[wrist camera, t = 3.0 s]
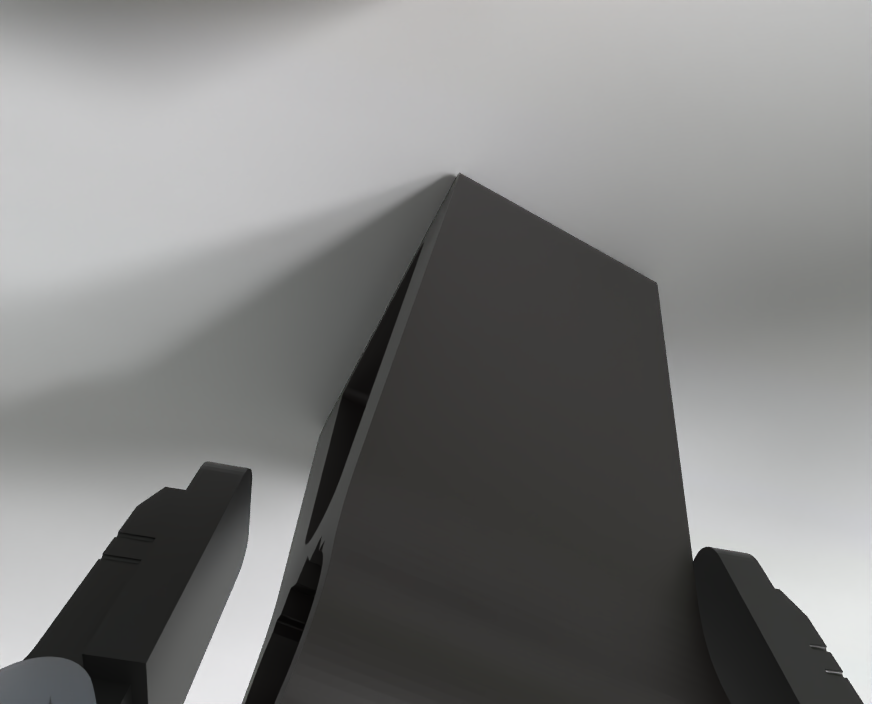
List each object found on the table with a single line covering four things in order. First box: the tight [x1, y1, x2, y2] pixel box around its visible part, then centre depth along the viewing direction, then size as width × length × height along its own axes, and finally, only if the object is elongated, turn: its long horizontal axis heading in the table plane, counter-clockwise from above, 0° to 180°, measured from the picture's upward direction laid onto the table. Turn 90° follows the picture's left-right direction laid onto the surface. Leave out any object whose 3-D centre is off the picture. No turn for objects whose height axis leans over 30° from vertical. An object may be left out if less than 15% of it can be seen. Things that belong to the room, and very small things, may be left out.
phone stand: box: [242, 173, 731, 704], centre depth 12 cm, size 9×6×12 cm, turn 152°
